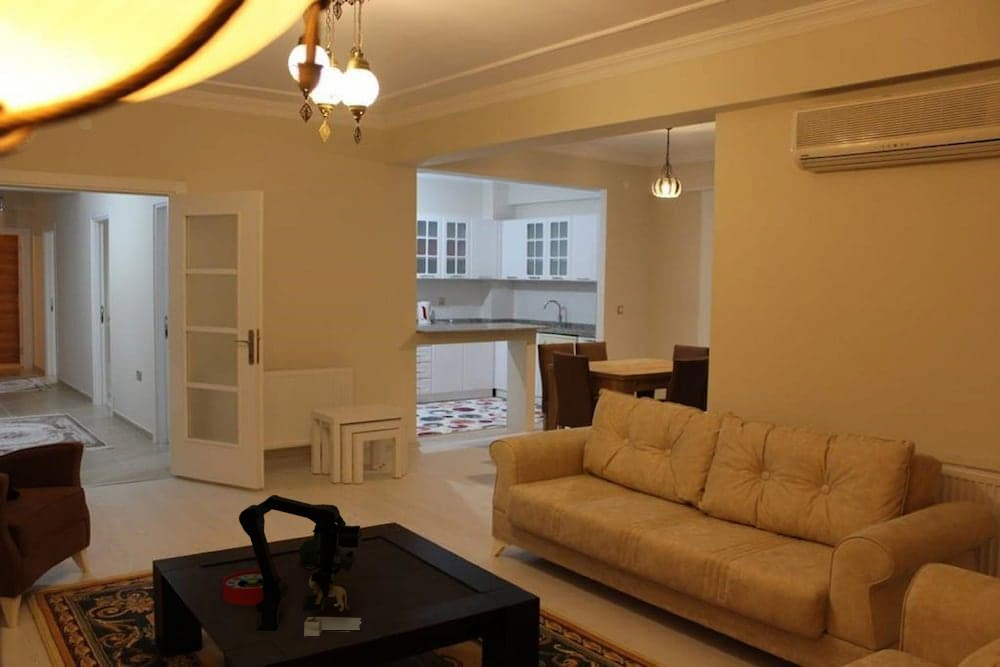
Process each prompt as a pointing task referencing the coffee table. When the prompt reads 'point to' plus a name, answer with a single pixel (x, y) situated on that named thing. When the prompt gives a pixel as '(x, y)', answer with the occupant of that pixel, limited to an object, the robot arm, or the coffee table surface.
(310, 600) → the phone
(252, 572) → the toy clock
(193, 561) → the coffee table surface
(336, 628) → the grey mat
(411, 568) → the coffee table surface
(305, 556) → the toy figurine
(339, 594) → the lion figurine
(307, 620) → the maple cube
